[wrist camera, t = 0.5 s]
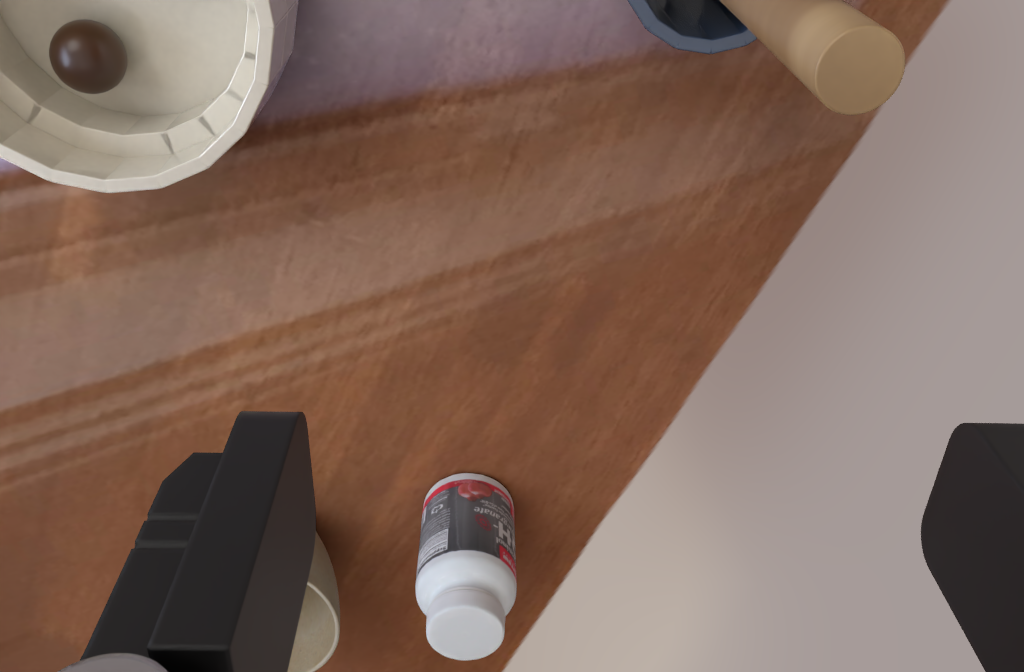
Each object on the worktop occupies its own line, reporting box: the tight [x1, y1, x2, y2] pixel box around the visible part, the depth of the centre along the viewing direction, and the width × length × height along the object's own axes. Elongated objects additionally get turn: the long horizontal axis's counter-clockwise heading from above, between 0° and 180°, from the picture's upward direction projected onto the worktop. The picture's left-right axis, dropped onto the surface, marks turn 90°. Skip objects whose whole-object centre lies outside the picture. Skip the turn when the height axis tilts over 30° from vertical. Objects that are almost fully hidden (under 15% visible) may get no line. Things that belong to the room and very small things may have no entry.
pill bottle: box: [415, 473, 517, 660], centre depth 51 cm, size 5×5×10 cm
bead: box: [49, 19, 128, 94], centre depth 39 cm, size 3×3×3 cm
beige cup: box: [287, 532, 340, 672], centre depth 53 cm, size 10×10×7 cm
